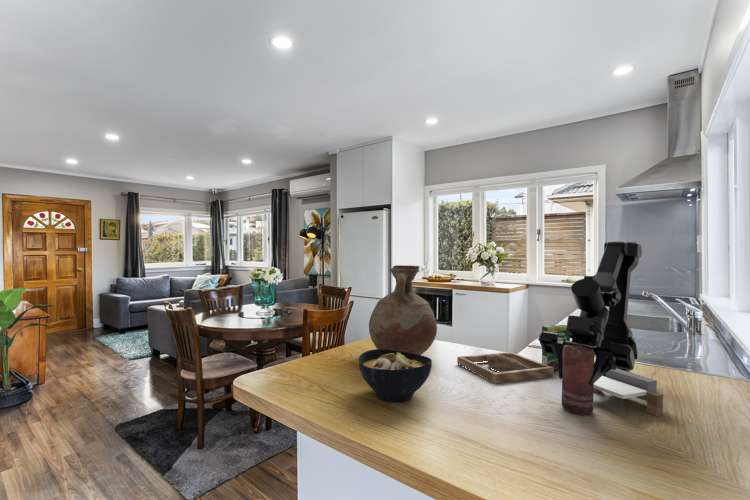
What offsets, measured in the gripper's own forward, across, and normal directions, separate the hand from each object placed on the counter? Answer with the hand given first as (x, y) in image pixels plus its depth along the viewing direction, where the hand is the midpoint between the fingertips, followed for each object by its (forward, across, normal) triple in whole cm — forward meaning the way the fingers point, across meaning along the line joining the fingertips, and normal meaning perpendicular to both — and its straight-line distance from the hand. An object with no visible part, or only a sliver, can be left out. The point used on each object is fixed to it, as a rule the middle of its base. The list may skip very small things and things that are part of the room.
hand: (574, 381), depth 81 cm
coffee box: (-16, -14, +26) cm, 33 cm away
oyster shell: (-8, -24, +18) cm, 31 cm away
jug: (+4, -51, +6) cm, 51 cm away
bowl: (+21, -32, -11) cm, 40 cm away
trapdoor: (-6, +5, +13) cm, 15 cm away
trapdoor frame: (-6, +6, +16) cm, 18 cm away
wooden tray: (-7, -24, +16) cm, 30 cm away
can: (+4, 0, +6) cm, 7 cm away
